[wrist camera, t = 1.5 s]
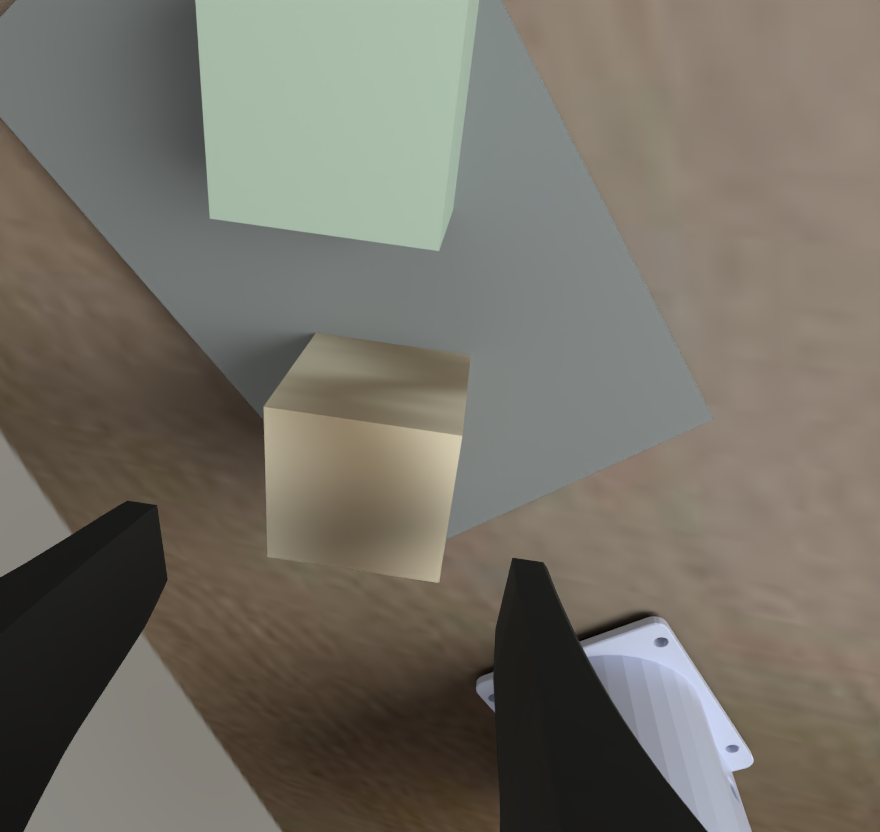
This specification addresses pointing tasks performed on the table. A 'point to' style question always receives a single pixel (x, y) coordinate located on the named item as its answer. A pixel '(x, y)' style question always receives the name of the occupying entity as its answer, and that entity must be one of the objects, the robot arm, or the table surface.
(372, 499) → the birch block
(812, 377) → the table surface
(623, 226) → the table surface
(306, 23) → the sage block
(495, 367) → the board
